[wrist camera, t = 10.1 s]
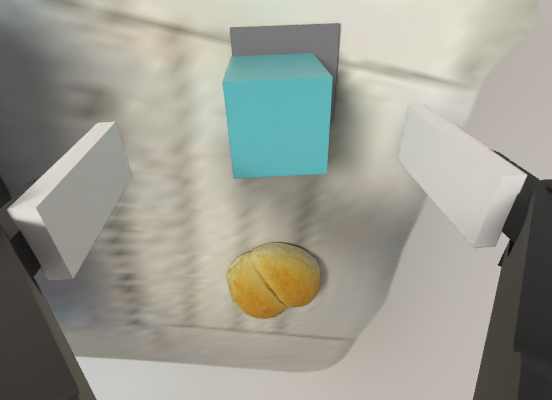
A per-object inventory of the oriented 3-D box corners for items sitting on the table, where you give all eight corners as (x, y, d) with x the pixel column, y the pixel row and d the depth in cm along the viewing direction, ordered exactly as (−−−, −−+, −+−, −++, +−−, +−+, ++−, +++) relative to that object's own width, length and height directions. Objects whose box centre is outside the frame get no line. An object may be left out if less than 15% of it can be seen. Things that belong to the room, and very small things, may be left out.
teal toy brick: (239, 133, 24) (233, 178, 18) (231, 56, 21) (222, 82, 16) (310, 130, 24) (326, 173, 18) (312, 52, 21) (332, 77, 16)
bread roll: (329, 280, 34) (337, 311, 31) (253, 307, 36) (253, 340, 33) (297, 224, 30) (302, 254, 27) (213, 259, 32) (208, 291, 29)
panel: (239, 125, 25) (239, 126, 24) (229, 27, 21) (229, 28, 21) (332, 121, 25) (333, 122, 25) (339, 23, 21) (339, 23, 21)
